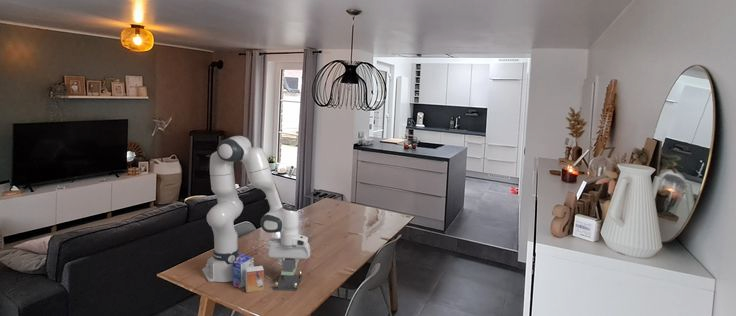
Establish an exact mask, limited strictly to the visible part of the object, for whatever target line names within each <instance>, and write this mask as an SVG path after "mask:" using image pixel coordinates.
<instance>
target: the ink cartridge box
mask: <svg viewBox="0 0 736 316" xmlns="http://www.w3.org/2000/svg"><path fill="white" fill-rule="evenodd" d="M238 257H239V259H238V260H236V261H235V262H233V263H232V264H233V281H232V284H233V287H237V288H239V289H242V288H244V287H245V280H246V267H255V265H254V264H255V263H254V256H249V255H244V253H241V254H239V256H238ZM240 257H241V258H240Z"/></svg>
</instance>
